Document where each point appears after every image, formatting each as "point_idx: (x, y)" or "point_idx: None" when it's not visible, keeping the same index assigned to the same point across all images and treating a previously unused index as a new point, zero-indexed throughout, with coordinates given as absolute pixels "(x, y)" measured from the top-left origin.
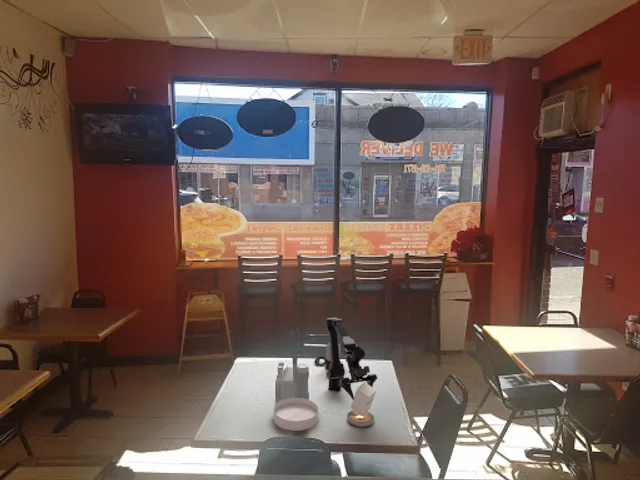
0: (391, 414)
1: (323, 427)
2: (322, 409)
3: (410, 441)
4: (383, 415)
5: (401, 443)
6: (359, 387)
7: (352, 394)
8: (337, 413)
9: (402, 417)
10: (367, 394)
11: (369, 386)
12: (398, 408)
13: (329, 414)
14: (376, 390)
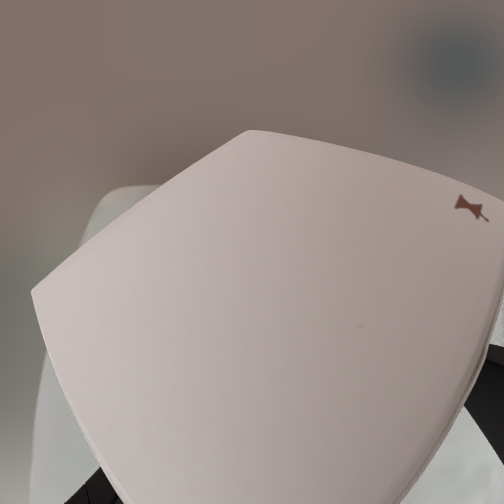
0: (80, 441)
1: (497, 325)
2: (487, 497)
3: (100, 204)
4: None
5: (140, 191)
6: (488, 262)
7: (489, 352)
8: (426, 482)
9: (42, 395)
10: (270, 145)
11: (108, 386)
12: (39, 477)
13: (468, 460)
14: (37, 291)
